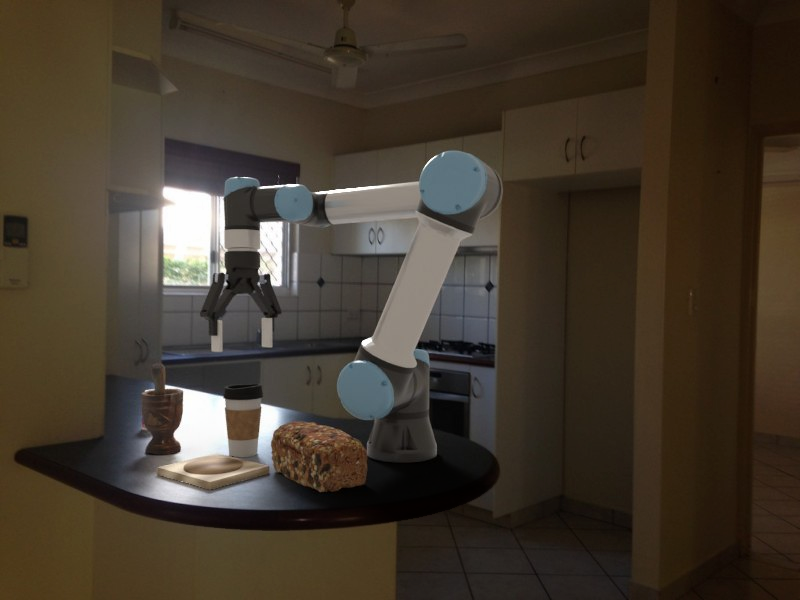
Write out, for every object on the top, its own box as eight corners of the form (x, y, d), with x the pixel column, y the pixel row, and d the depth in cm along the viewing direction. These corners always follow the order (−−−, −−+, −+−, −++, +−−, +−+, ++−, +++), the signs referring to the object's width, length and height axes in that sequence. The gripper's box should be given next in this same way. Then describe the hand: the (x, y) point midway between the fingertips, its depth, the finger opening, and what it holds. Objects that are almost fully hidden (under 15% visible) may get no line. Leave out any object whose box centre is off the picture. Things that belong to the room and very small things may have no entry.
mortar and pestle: (191, 456, 147) (191, 362, 146) (148, 461, 142) (148, 364, 142) (178, 445, 157) (178, 357, 156) (138, 449, 152) (137, 359, 152)
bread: (269, 473, 135) (269, 422, 134) (316, 464, 141) (316, 415, 141) (320, 496, 120) (320, 439, 120) (370, 485, 127) (370, 431, 126)
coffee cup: (253, 460, 144) (253, 388, 144) (216, 457, 146) (216, 386, 145) (269, 450, 152) (269, 382, 152) (233, 448, 154) (233, 381, 153)
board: (269, 473, 134) (269, 464, 134) (209, 490, 122) (209, 480, 122) (216, 460, 143) (216, 451, 143) (157, 474, 132) (157, 465, 132)
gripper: (274, 253, 161) (274, 344, 161) (182, 248, 141) (182, 352, 141) (296, 252, 156) (297, 346, 157) (204, 247, 136) (205, 354, 137)
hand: (242, 349), depth 149 cm, fingers open, 13 cm apart
